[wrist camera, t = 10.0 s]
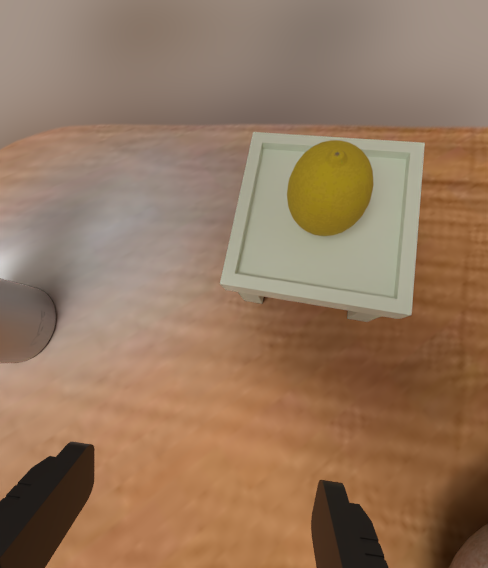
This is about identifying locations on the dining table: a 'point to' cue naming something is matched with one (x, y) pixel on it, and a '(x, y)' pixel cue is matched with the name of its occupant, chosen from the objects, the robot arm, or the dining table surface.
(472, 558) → the cooking pot
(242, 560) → the dining table surface
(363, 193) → the lemon
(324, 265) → the stool
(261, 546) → the dining table surface
